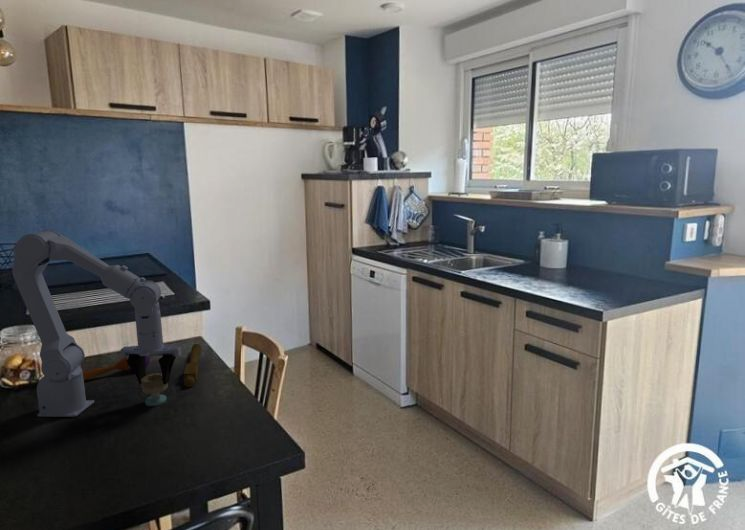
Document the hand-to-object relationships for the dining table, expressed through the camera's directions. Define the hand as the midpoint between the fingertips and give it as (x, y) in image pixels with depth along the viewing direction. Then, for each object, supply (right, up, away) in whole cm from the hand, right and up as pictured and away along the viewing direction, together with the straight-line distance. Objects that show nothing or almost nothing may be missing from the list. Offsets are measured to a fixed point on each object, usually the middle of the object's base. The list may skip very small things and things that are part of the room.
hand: (154, 382), depth 124 cm
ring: (0, -2, 0) cm, 2 cm away
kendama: (-20, -3, +19) cm, 28 cm away
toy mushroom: (0, -5, +1) cm, 5 cm away
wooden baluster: (+1, -2, +23) cm, 23 cm away
